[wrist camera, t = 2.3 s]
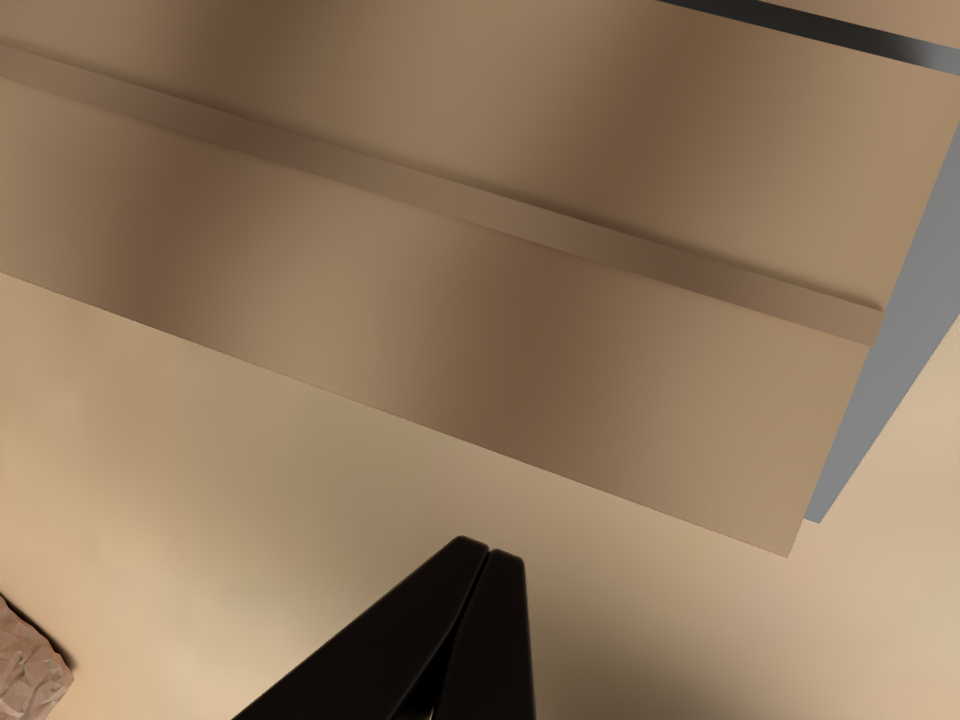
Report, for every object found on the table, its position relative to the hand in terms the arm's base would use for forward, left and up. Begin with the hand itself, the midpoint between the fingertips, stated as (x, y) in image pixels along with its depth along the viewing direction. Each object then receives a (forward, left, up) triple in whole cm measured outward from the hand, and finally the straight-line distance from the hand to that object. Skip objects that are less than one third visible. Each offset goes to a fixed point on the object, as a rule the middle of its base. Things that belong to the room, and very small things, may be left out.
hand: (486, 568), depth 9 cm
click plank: (+6, -2, -5) cm, 8 cm away
